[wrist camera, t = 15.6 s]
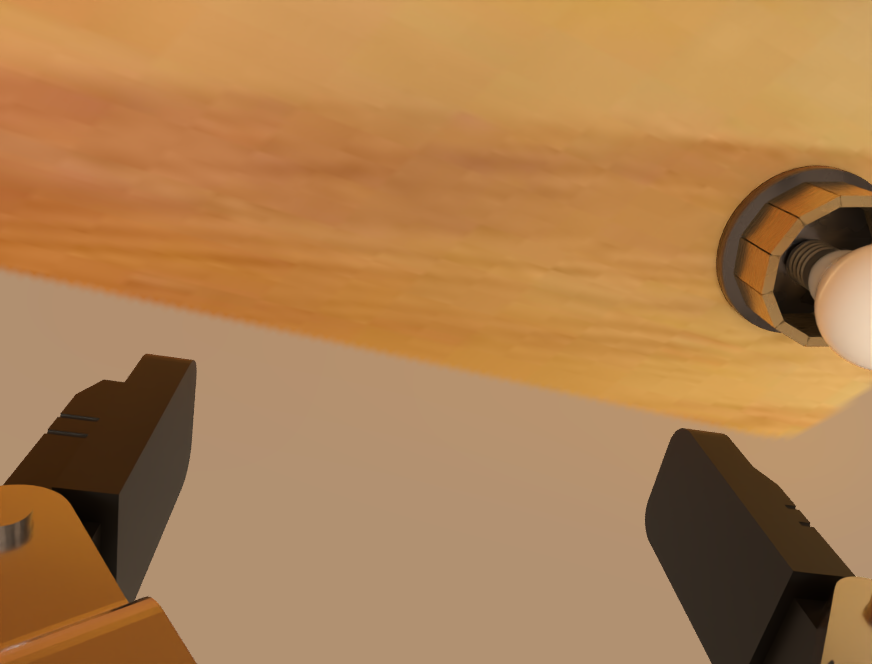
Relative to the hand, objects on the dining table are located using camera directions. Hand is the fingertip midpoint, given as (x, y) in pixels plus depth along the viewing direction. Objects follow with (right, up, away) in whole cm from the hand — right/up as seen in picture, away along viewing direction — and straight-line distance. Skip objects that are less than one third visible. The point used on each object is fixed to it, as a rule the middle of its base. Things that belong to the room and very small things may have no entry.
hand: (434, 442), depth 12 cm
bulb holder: (+22, +7, +32) cm, 39 cm away
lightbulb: (+22, +6, +31) cm, 38 cm away
